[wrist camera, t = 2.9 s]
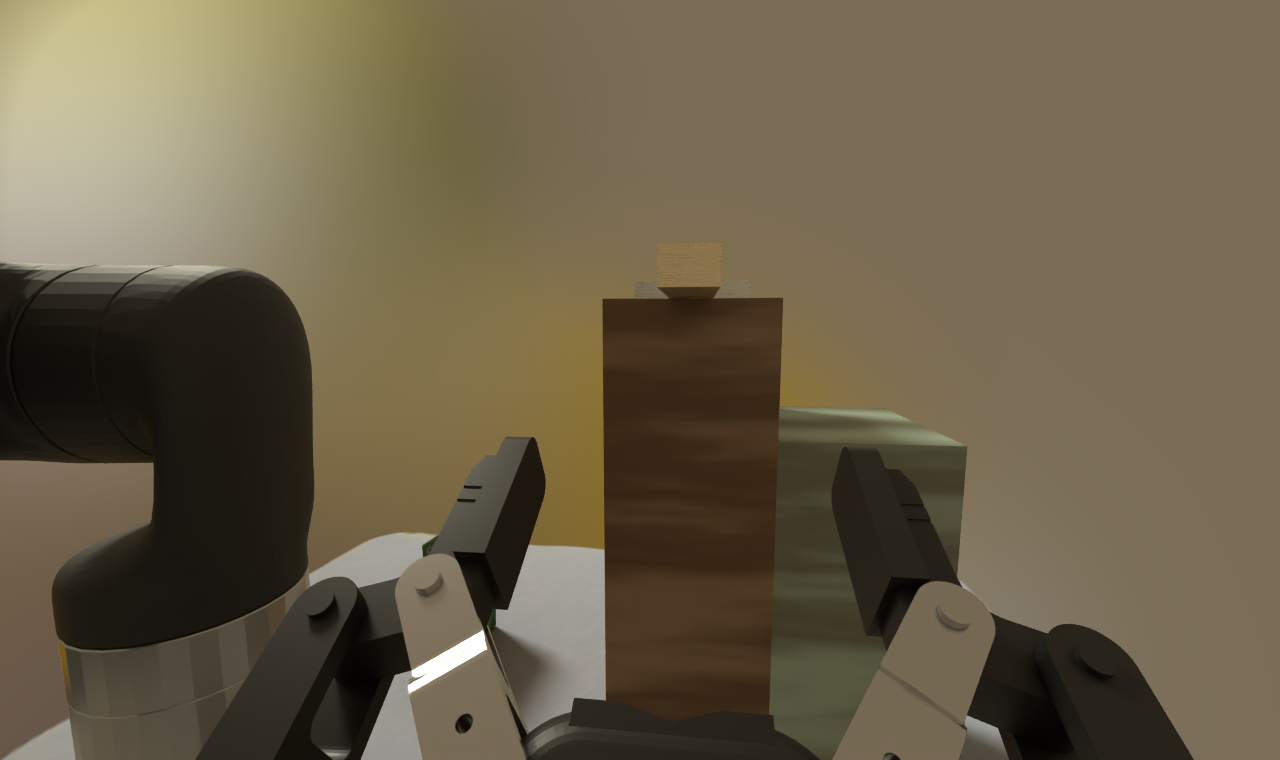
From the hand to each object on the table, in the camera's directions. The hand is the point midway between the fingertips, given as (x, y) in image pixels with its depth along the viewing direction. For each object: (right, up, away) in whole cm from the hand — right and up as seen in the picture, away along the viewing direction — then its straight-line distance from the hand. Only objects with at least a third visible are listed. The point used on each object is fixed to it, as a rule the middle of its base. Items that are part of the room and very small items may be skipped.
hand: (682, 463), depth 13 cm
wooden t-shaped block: (+2, +7, +14) cm, 16 cm away
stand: (+7, -24, +23) cm, 35 cm away
